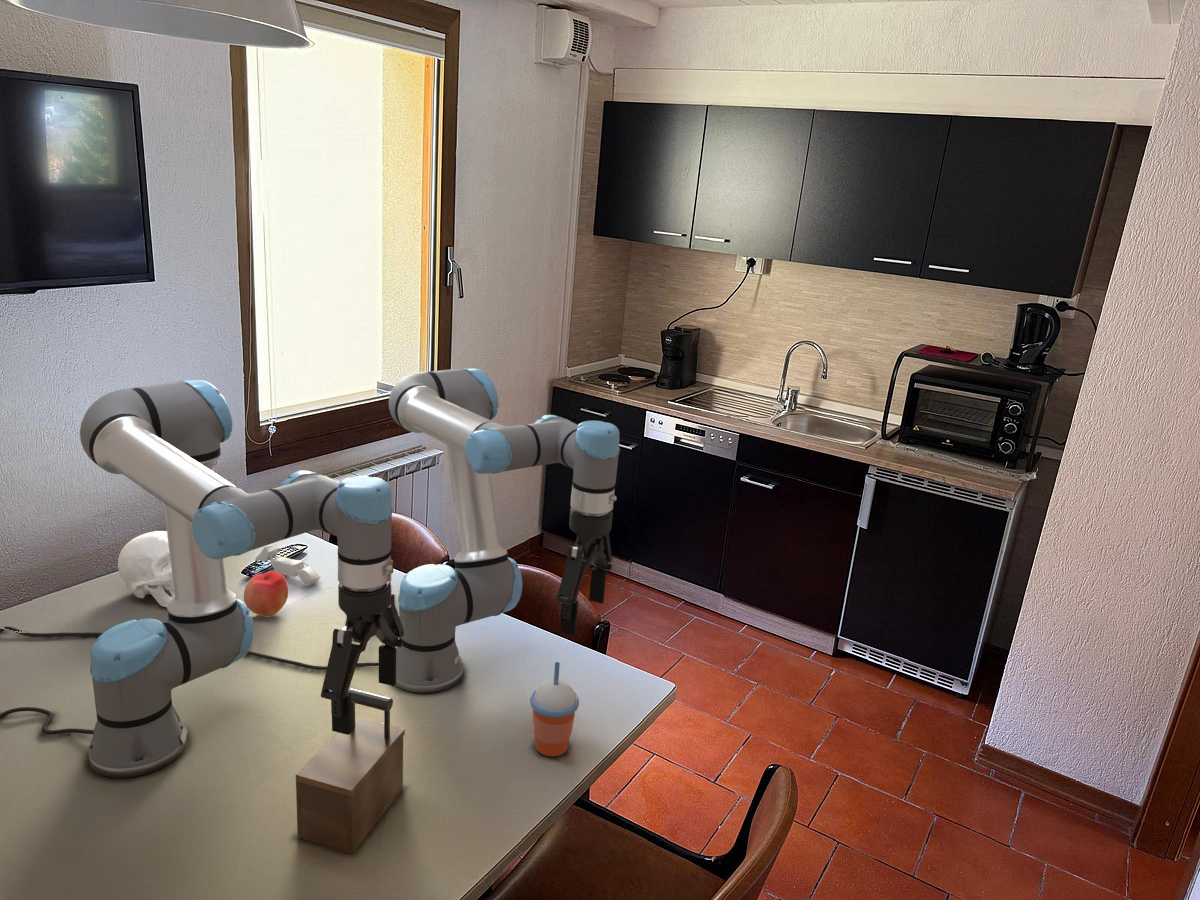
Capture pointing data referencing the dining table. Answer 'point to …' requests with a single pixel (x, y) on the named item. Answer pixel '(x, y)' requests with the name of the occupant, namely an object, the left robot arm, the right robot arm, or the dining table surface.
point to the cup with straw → (553, 715)
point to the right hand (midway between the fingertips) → (582, 616)
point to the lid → (353, 749)
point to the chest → (349, 806)
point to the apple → (266, 593)
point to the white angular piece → (288, 565)
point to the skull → (148, 566)
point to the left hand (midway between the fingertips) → (365, 706)
